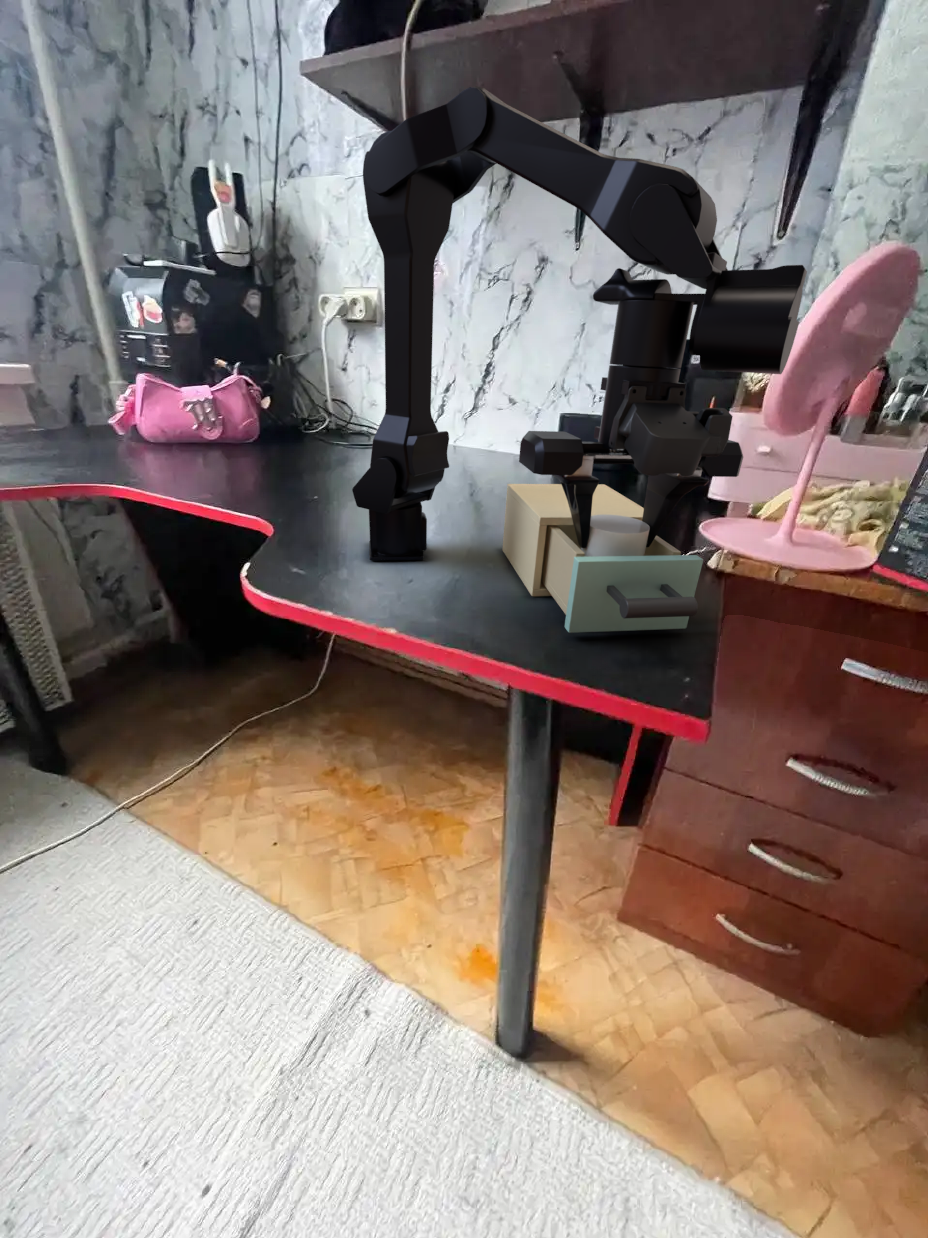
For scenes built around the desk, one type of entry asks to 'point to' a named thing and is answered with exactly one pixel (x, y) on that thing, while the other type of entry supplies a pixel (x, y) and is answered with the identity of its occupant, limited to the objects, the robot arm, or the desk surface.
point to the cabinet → (548, 523)
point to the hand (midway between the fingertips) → (613, 546)
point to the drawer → (619, 585)
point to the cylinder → (616, 536)
